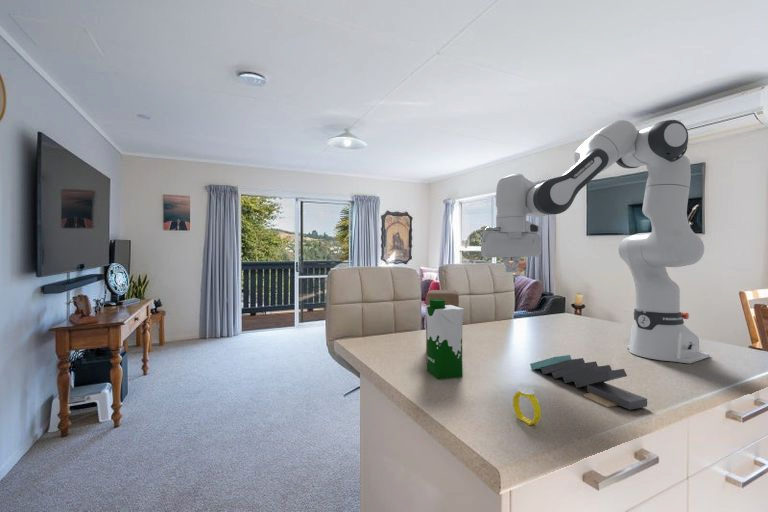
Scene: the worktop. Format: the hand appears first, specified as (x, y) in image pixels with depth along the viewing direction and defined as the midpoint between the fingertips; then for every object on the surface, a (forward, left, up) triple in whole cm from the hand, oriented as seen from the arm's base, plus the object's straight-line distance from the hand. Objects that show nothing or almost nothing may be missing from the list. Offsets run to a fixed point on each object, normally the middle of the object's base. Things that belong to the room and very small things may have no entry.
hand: (511, 272), depth 111 cm
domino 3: (0, +19, -26) cm, 32 cm away
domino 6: (0, +30, -25) cm, 39 cm away
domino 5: (0, +26, -26) cm, 37 cm away
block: (+18, -11, -27) cm, 34 cm away
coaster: (0, +34, -27) cm, 43 cm away
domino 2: (0, +15, -26) cm, 30 cm away
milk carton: (+27, +7, -27) cm, 39 cm away
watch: (+25, +36, -27) cm, 51 cm away
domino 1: (0, +11, -26) cm, 28 cm away
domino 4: (0, +23, -26) cm, 34 cm away
